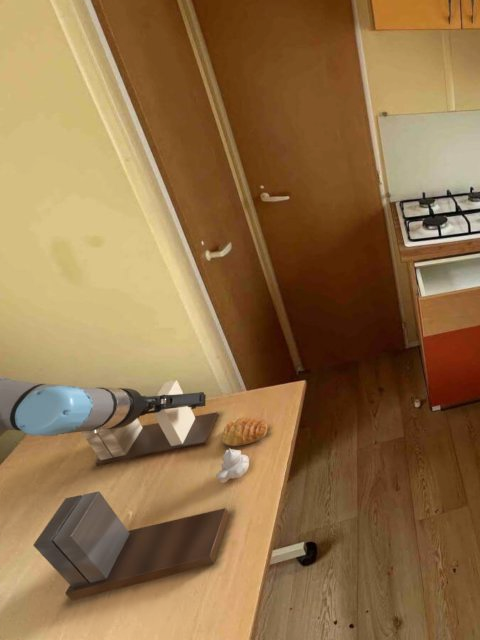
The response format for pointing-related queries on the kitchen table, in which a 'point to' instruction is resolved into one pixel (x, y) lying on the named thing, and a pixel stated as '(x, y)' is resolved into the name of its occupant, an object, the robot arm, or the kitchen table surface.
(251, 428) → the pastry
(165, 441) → the wooden bookend
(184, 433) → the white book
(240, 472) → the white garlic bulb
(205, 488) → the kitchen table surface
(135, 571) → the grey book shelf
